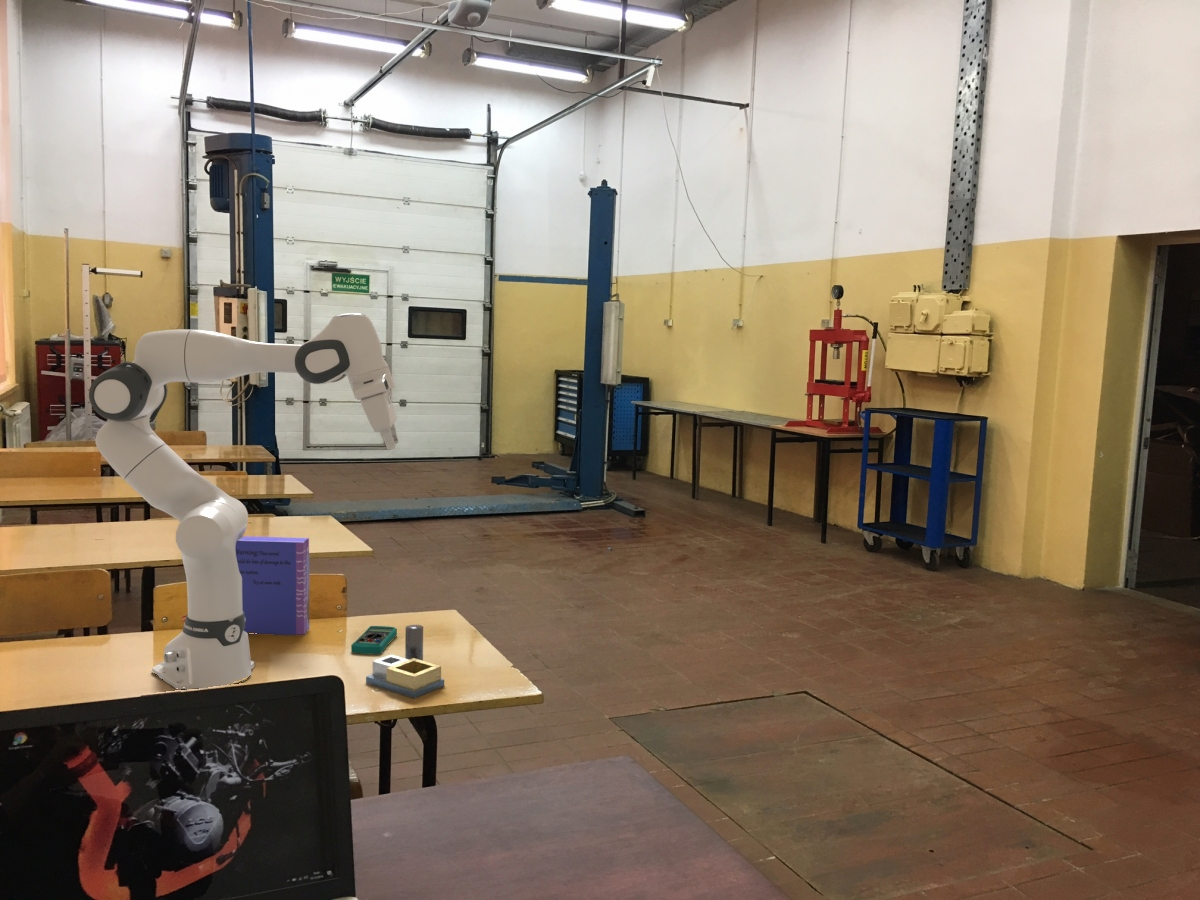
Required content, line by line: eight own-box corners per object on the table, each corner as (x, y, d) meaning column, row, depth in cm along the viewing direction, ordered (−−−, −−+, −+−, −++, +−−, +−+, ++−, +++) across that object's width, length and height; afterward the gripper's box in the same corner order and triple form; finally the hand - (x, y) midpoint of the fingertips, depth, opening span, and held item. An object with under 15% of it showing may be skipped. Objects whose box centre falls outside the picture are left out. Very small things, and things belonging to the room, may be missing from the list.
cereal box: (309, 629, 244) (309, 537, 241) (304, 635, 239) (303, 541, 236) (240, 627, 243) (239, 535, 240) (233, 633, 239) (232, 539, 236)
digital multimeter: (349, 655, 227) (349, 643, 227) (369, 635, 242) (369, 624, 242) (380, 657, 227) (380, 645, 226) (397, 637, 241) (397, 625, 241)
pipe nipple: (401, 665, 220) (401, 627, 219) (413, 660, 223) (414, 623, 222) (414, 669, 218) (414, 631, 217) (426, 664, 221) (426, 626, 220)
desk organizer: (366, 683, 208) (366, 663, 208) (396, 671, 216) (396, 652, 216) (414, 698, 201) (414, 677, 200) (444, 685, 208) (444, 665, 208)
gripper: (363, 387, 215) (383, 445, 217) (353, 392, 195) (375, 456, 197) (390, 378, 216) (410, 436, 218) (383, 383, 196) (404, 447, 198)
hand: (393, 446), depth 207 cm, fingers open, 8 cm apart
